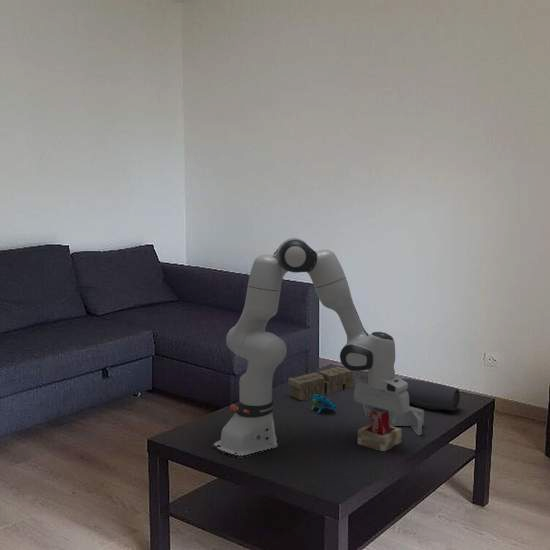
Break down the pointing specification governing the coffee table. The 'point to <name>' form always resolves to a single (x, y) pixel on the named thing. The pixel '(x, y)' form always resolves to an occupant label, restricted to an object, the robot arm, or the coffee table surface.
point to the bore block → (379, 438)
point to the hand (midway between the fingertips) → (380, 420)
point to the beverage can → (380, 421)
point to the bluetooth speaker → (432, 395)
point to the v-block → (410, 419)
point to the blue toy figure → (322, 403)
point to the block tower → (321, 383)
